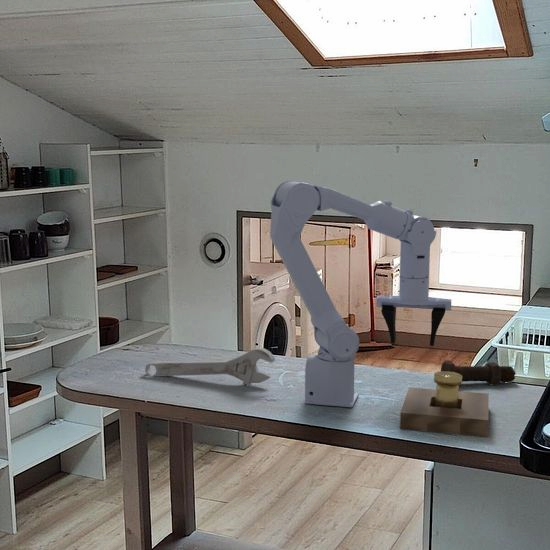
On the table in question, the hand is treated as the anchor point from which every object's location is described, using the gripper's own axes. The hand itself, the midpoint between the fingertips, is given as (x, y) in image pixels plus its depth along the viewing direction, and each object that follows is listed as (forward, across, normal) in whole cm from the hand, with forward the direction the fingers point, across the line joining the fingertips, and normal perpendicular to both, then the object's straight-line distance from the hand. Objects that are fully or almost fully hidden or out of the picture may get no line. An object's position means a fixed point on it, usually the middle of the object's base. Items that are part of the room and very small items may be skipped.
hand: (412, 343), depth 158 cm
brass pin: (+10, -8, +12) cm, 18 cm away
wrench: (+11, +43, +2) cm, 44 cm away
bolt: (+11, -13, -10) cm, 20 cm away
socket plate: (+10, -8, +13) cm, 18 cm away
